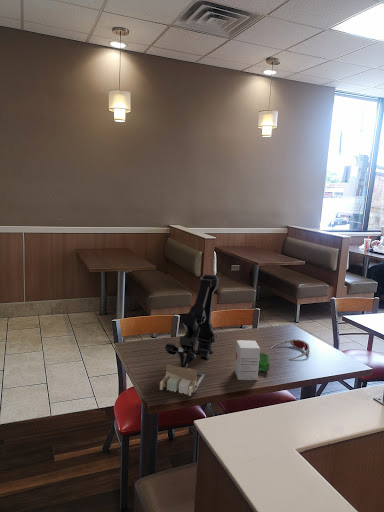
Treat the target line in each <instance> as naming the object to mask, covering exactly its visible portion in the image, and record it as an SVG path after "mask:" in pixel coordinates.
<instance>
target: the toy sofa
mask: <svg viewBox="0 0 384 512" xmlns="http://www.w3.org/2000/svg"><path fill="white" fill-rule="evenodd" d="M165 369H166V370H165V371H166V372H165V376H164V377H163V378H162V379H161V380H160V382H159V390H160V391H163V390H164V389H165V388H166V387H165V386H166V384H167V381H168V380H169V378H170V377H174V378H179V379H180V381H181V380H182V379H184V380H189V381H191V385H190V387H189V392H188V394H187V395H188V397H191V396H193V394H194V393H195V392H194V390H195V388H197V389H198V387H197V382H198V375H197V373H198V369H194V368H190V367H187V368H184V367H181V366H178V365H173V364H166V367H165Z"/></svg>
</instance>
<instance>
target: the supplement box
mask: <svg viewBox="0 0 384 512" xmlns="http://www.w3.org/2000/svg"><path fill="white" fill-rule="evenodd" d="M235 344H236V345H235V359H234V360H235V361H234V373H235V376H236V378H237V380H238V381H258V378H259V376H258V375H259V371H258V368H259V357H260V353H261V347H260V346H259V344H258V343H257V341H256V340H245V339H242V340H241V339H239V340H236V343H235Z"/></svg>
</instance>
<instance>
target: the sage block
mask: <svg viewBox="0 0 384 512" xmlns="http://www.w3.org/2000/svg"><path fill="white" fill-rule="evenodd" d="M179 383H180V379H179V378H174V377H170V378H169V380H168V381H167V387H166V391H168V390H169V391H170V392H173V391H174V392H175V393H176V391H179Z"/></svg>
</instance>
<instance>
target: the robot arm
mask: <svg viewBox="0 0 384 512" xmlns="http://www.w3.org/2000/svg"><path fill="white" fill-rule="evenodd" d="M199 279H200V281H199V288H198V289H199V290H198V292H197V295H196V299H195V303H194V304H193V305H192V306H191V307H190V309H189V311H188V312H187V314H185V315H184V316H183V317H182V320H181V322H182V324H183V326H184V329H185V334H184V335H183V336H180V337H179V342H178V344H179V345H180V347H177V345H176V344H175V343H169V342H168V343H165V346H164V350H165V352H166V354H168V355H172V356H175V355H176V354H177V355H178V358H179V360H180V367H184V368H188V367H189V366H190V364H191V363H192V362H193V361H196V357H200V359H201V360H202V361H207V362H208V361H209V360H210V357H211V355H210V354H213V353H214V351H213V350H212V344H213V343H215V341H216V336H215V333H214V326H213V324H212V322H211V319H212V312H213V311H212V309H213V302H214V301H213V300H214V293H215V291H216V290H217V289H218V286H219V284H220V278H219V277H218V276H217V275H215V274H203V275H202V276H201V277H200V278H199ZM196 347H197V350H196Z"/></svg>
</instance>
